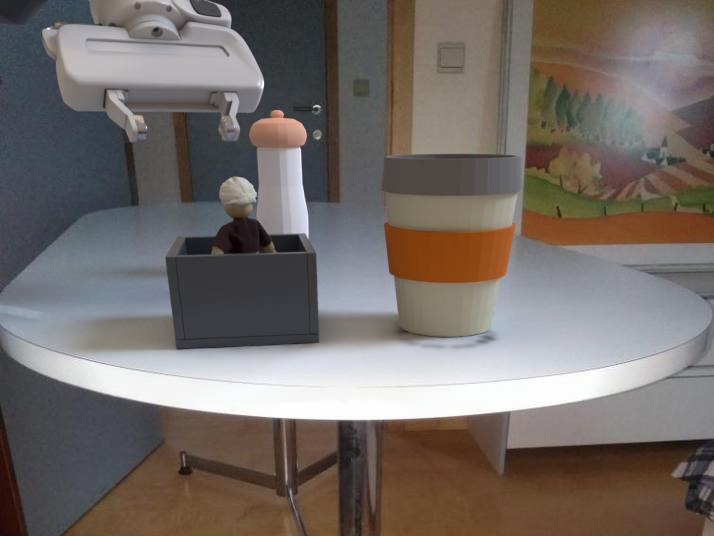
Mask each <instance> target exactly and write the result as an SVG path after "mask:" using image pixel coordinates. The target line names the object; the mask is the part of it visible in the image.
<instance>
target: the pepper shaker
mask: <svg viewBox="0 0 714 536" xmlns="http://www.w3.org/2000/svg"><path fill="white" fill-rule="evenodd" d="M269 115H270V117H268V118H260V119H259V120H257V121H255V122H253V124H252V125H251V127H250V129H249V135H248V137H249V140H250V143H251V145H252V146H254V147H257V148H256V159H257V161H256V162H257V175H258V177H257V178H258V192H257V202H256V203H257V205H256V218H255V219H257V220H258V221H259V222H260V224H261V225H262V226H263V228H264V229H265V230H266V232H267V233H268V234H296V233H297V234H298V233H305V234H306V236H307V238H308V239H309V213H308V208H307V207H308V206H307V202H306V196H305V191H304V185H303V167H302V166H303V165H302V149H301V147H302V146H304V145H306V142H307V137H308V134H307V131H306V128H305V127H304V125H303V123H302V122H300V121H298V120H296V119H295V118H287V117H284V115H285V113H284V112H283V111H282V110H280V109H275V110H272V111H271V112H270V114H269Z"/></svg>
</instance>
